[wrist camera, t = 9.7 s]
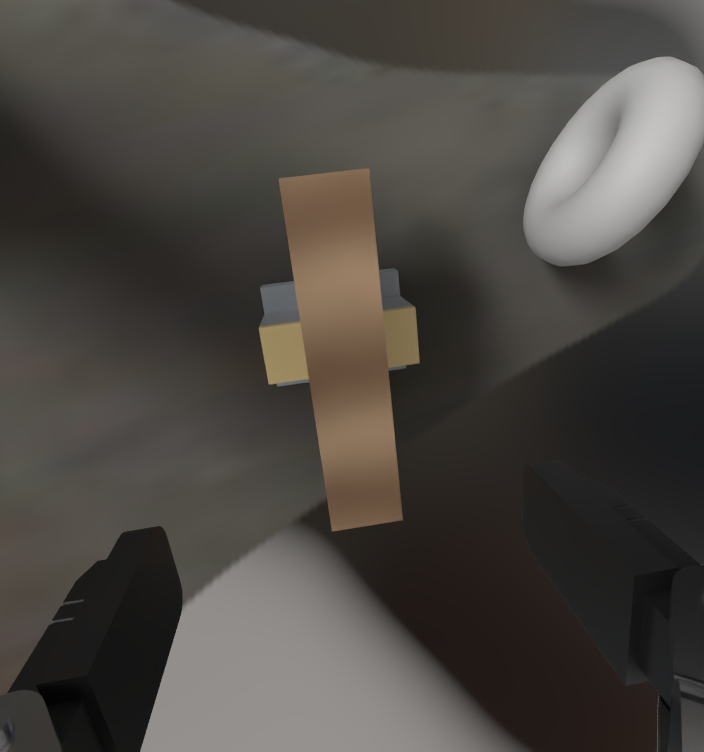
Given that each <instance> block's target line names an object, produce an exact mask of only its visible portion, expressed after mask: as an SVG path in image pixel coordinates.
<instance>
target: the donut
mask: <svg viewBox="0 0 704 752" xmlns="http://www.w3.org/2000/svg"><path fill="white" fill-rule="evenodd" d="M703 143H704V75H703V74H702V73H701V72H700V71H699V70H698V68H697V67H695V66H693V65H690V64H688V63H686V62H683V61H681V60H678V59H676V58H673V57H657V58H654V59H651V60H647V61H644V62H640V63H638V64H635V65H633V66H630V67H628V68H627V69H625V70H624V71H622V72H621V73H619V74H618V75H616V76H615V77H613V78H612V79H610V80H609V81H608V82H607V83H605V84H604V85H603V86H602V87H601V88H600V89H599V90H598V91H597V92H596V93H595V94H593V95H592V96H591V97H590V98H589V99H588V100H587V101H586V102H585V103H584V104H583V105H582V107H581V108H580V109H579V110H578V111H577V112H576V113H575V115H574V116H573V117H572V118H571V119H570V120H569V122H568V123H567V124H566V126H565V127H564V129H563V130H562V131H561V133H560V134H559V136H558V137H557V138H556V140H555V141H554V143H553V144H552V146H551V148H550V149H549V151H548V153H547V154H546V156H545V158H544V160H543V161H542V163H541V165H540V167H539V169H538V171H537V173H536V176H535V178H534V180H533V182H532V184H531V188H530V191H529V194H528V197H527V201H526V204H525V208H524V217H523V229H524V234H525V237H526V240H527V243H528V245H529V247H530V249H531V250H532V252H533V253H534V254H535V255H537V256H538V257H539V258H541V259H543V260H545V261H547V262H548V263H550V264H553V265H557V266H573V265H581V264H587V263H590V262H592V261H594V260H597V259H599V258H601V257H603V256H605V255H607V254H609V253H611V252H613V251H615V250H617V249H618V248H620V247H621V246H622V245H624V244H625V243H626V242H627V241H629V240H630V239H631V238H633V237H634V236H635V235H637V234H638V233H639V232H640V231H642V230H643V229H644V228H645V226H646V225H647V224H648V223H649V222H650V221H651V220H652V219H653V218H654V217H655V216H656V215H657V214H658V213H659V212H660V211H661V210H662V209H663V208H664V207H665V205H666V204H667V203H668V202H669V200H670V199H671V198H672V196H673V195H674V193H675V192H676V191H677V189H678V188H679V186H680V185H681V183H682V182H683V181H684V179H685V178H686V176H687V175H688V174H689V172H690V170H691V168H692V166H693V164H694V162H695V160H696V157H697V155H698V153H699V151H700V149H701V147H702V145H703Z"/></svg>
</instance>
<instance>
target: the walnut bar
mask: <svg viewBox="0 0 704 752" xmlns="http://www.w3.org/2000/svg"><path fill="white" fill-rule="evenodd" d="M279 185H280V192H281V199H282V205H283V212H284V218H285V225H286V231H287V238H288V245H289V251H290V258H291V264H292V271H293V277H294V284H295V291H296V297H297V304H298V310H299V317H300V323H301V330H302V337H303V343H304V350H305V356H306V363H307V370H308V376H309V383H310V389H311V396H312V402H313V409H314V416H315V422H316V429H317V435H318V442H319V448H320V455H321V462H322V468H323V475H324V481H325V488H326V494H327V501H328V508H329V514H330V521H331V527H332V531H338V530H344V529H350V528H356V527H362V526H369V525H375V524H381V523H387V522H394V521H399V520H403V517H402V506H401V496H400V486H399V475H398V466H397V454H396V444H395V434H394V423H393V413H392V402H391V392H390V381H389V371H388V361H387V350H386V340H385V329H384V319H383V309H382V298H381V288H380V277H379V267H378V256H377V246H376V236H375V225H374V215H373V204H372V194H371V183H370V173H369V168H365V169H356V170H348V171H339V172H330V173H322V174H313V175H305V176H296V177H287V178H279Z"/></svg>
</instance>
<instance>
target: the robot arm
mask: <svg viewBox="0 0 704 752" xmlns="http://www.w3.org/2000/svg"><path fill="white" fill-rule="evenodd" d="M522 479H523V480H522V481H523V482H522V488H523V528H524V534H525V538H526V541H527V543H528V546H529V548H530V550H531V552H532V553H533V555H534V556H535V558H536V559H537V561H538V562H539V564H540V565H541V566H542V568H543V569H544V571H545V572H546V573H547V575H548V576H549V578H550V579H551V580H552V582H553V583H554V585H555V586H556V588H557V589H558V590H559V592H560V593H561V595H562V596H563V598H564V599H565V601H566V602H567V603H568V605H569V606H570V608H571V609H572V610H573V612H574V613H575V615H576V616H577V617H578V619H579V620H580V622H581V623H582V625H583V626H584V627H585V629H586V630H587V632H588V633H589V635H590V636H591V638H592V639H593V640H594V642H595V643H596V645H597V646H598V647H599V649H600V650H601V652H602V653H603V654H604V656H605V657H606V659H607V660H608V662H609V663H610V665H611V666H612V667H613V669H614V670H615V672H616V673H617V674H618V676H619V677H620V679H621V680H622V682H623V683H624V685H625V686H628V685H633V684H637V683H643V682H648V681H650V682H651V683H652V685H653V686H654V687H655V688H656V690H657V691H658V692H659V700H658V735H657V738H658V739H657V740H658V741H657V752H704V565H700V564H699V563H698V562H697V561H696V560H695V559H693V558H692V557H691V556H690V555H689V554H687V552H685V551H684V550H683V549H682V548H681V547H680V546H678V545H677V544H676V543H675V542H674V541H673V540H671V539H670V538H669V537H668V536H667V535H666V534H664V533H663V532H662V531H661V530H660V529H659V528H657V527H656V526H655V525H654V524H652V522H650V521H649V520H645V518H644V516H643V515H642V514H641V513H640V512H639V511H638V510H636V509H635V508H634V507H630V504H629V503H628V502H627V501H626V500H625V499H623V498H622V497H621V496H620V495H619V494H618V493H616V492H615V491H614V490H613V489H611V488H609V487H607V486H605V485H603V484H601V483H598V482H596V481H594V480H592V479H590V478H586V479H581V478H580V477H579V476H578V475H577V474H575V473H574V472H573V471H572V470H571V469H570V468H569V467H568V466H566V464H565V463H563V462H562V461H560V460H555V461H549V462H543V463H538V464H532V465H526V466H525V467H524V470H523V475H522ZM181 611H182V587H181V582H180V579H179V575H178V572H177V569H176V565H175V562H174V559H173V555H172V552H171V549H170V545H169V542H168V539H167V535H166V533H165V531H164V529H163V528H162V527H161V526H157V527H151V528H145V529H139V530H133V531H127V532H124V533H122V534H121V535H120V537H119V539H118V540H117V542H116V544H115V546H114V547H113V549H112V551H111V553H110V555H109V556H108V558H107V559H106V560H101V561H97V562H96V563H95V564H94V565H93V566H92V567H91V568H90V569H89V570H88V571H86V572H85V573H84V574H83V575H82V576H81V577H80V578H79V579H78V580H77V581H76V582H75V584H74V586H73V587H72V589H71V590H70V592H69V594H68V595H67V597H66V599H65V600H64V605H63V606H61V607H60V608H59V610H58V612H57V613H56V615H55V616H54V618H53V620H52V621H53V622H52V624H51V625H49V626H48V628H47V629H46V631H45V633H44V634H43V636H42V637H41V639H40V641H39V642H38V644H37V646H36V647H35V649H34V650H33V652H32V654H31V655H30V657H29V659H28V660H27V662H26V663H25V665H24V667H23V668H22V670H21V672H20V673H19V675H18V676H17V678H16V680H15V681H14V683H13V685H12V686H11V688H10V689H9V691H8V693H7V694H4V695H1V696H0V752H140V750H141V746H142V743H143V740H144V736H145V733H146V730H147V726H148V723H149V719H150V716H151V713H152V710H153V706H154V703H155V700H156V696H157V693H158V690H159V686H160V683H161V679H162V676H163V673H164V669H165V666H166V663H167V659H168V656H169V653H170V649H171V646H172V643H173V639H174V636H175V633H176V629H177V626H178V623H179V619H180V616H181Z"/></svg>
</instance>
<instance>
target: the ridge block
mask: <svg viewBox="0 0 704 752" xmlns="http://www.w3.org/2000/svg"><path fill="white" fill-rule="evenodd" d="M379 277H380V288H381V298H382V309H383V319H384V329H385V340H386V350H387V361H388V371H391V370H398V369H405V368H406V365H411V364H418V363H420V361H419V348H418V334H417V321H416V307H414V306H413V305H412V304H410V303H409V302H408V301H406V300H405V299H404V298H402V297H401V296H400V288H399V276H398V270H396V269H394V268H390V269H382V270H379ZM260 291H261V296H262V302H263V308H264V317H263V319H262V321H261V324H260V326H259V333H260V338H261V344H262V350H263V355H264V361H265V366H266V372H267V377H268V383H269V384H276V383H277V387H278V386H285V385H292V384H300V383H307V382H309V376H308V370H307V363H306V356H305V350H304V343H303V337H302V330H301V323H300V317H299V310H298V304H297V297H296V291H295V284H294V281H289V282H281V283H273V284H265V285H262V286H261V287H260Z"/></svg>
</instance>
